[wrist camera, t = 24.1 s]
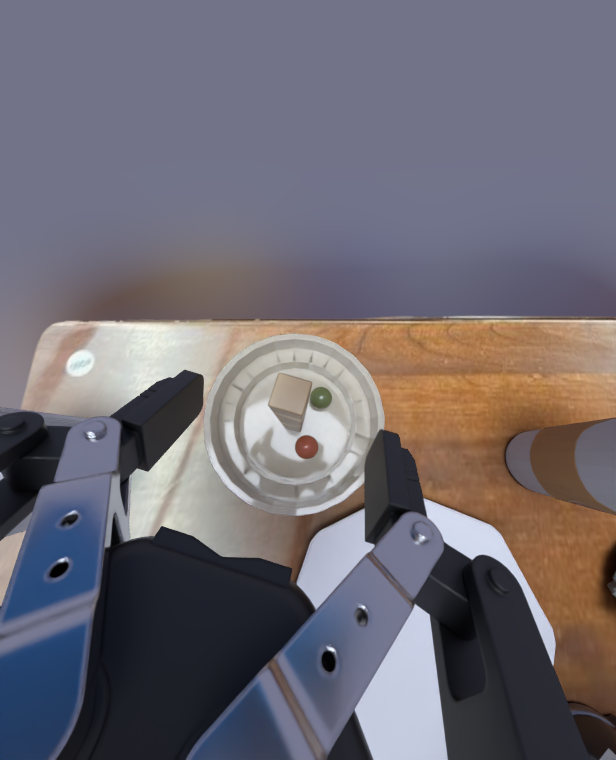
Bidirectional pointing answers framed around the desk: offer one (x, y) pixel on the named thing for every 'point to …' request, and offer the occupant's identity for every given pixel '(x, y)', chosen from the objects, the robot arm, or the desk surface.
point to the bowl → (275, 442)
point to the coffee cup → (568, 463)
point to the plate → (406, 633)
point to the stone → (613, 585)
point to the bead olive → (320, 397)
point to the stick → (290, 400)
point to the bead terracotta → (306, 447)
